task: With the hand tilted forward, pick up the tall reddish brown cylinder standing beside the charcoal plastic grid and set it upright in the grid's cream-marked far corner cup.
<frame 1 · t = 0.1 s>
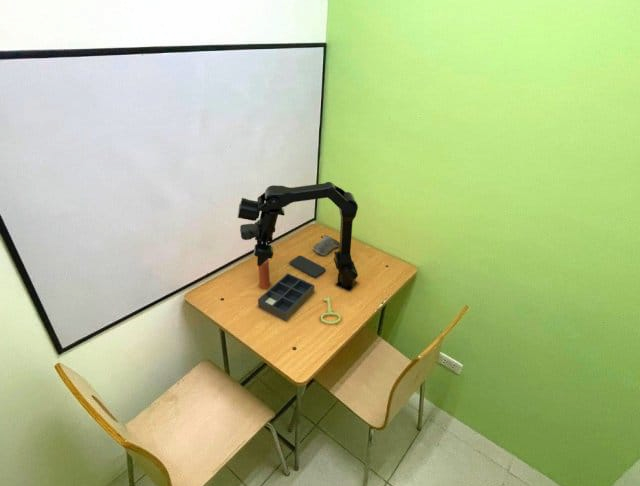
hand: (258, 257, 136), 15 cm above the table, tool pointing down, fingers open, 9 cm apart
stone: (324, 249, 169), on the table
reddish brown cylinder: (264, 285, 148), on the table
key: (329, 313, 138), on the table
phone: (307, 267, 158), on the table
grid: (286, 299, 142), on the table
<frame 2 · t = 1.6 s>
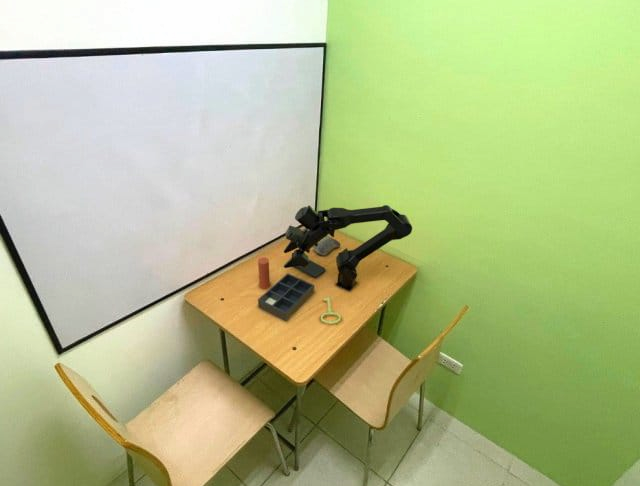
hand: (284, 259, 140), 13 cm above the table, tool tilted 45°, fingers open, 9 cm apart
nothing on the table moved.
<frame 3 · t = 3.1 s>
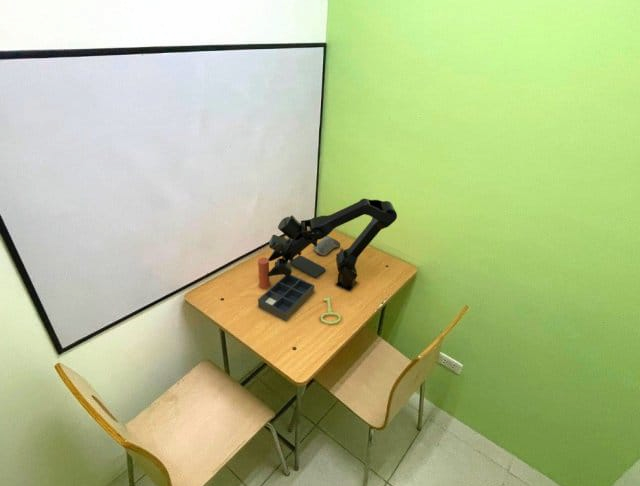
hand: (268, 267, 142), 9 cm above the table, tool tilted 45°, fingers open, 9 cm apart
nothing on the table moved.
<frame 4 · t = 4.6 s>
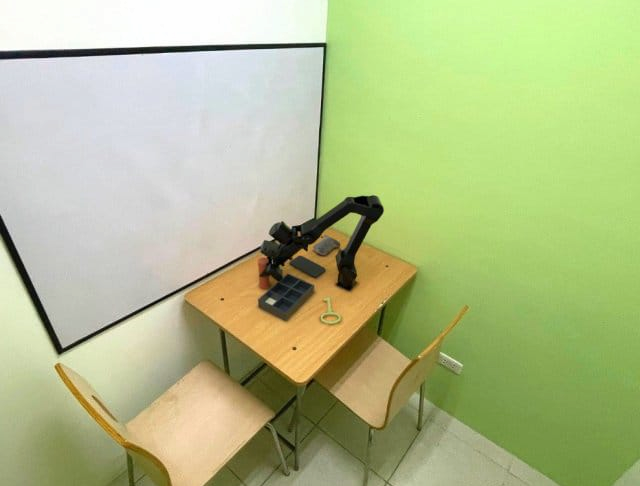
hand: (260, 272, 143), 7 cm above the table, tool tilted 45°, fingers closed on reddish brown cylinder, 4 cm apart
reddish brown cylinder: (264, 285, 148), on the table, touching gripper
everything else where it was.
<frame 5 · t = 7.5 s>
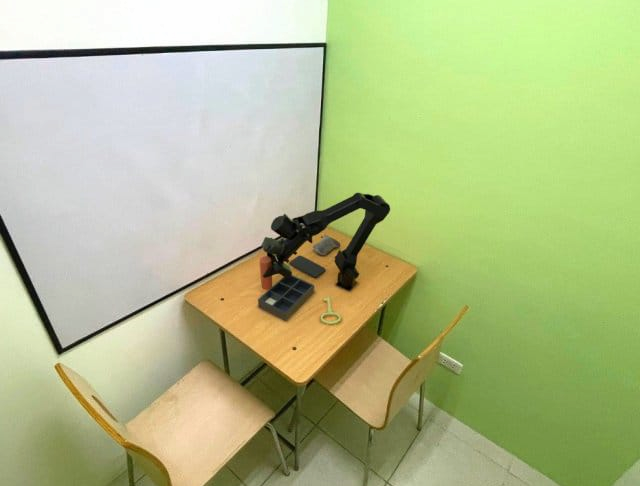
hand: (262, 273, 133), 13 cm above the table, tool tilted 45°, fingers closed on reddish brown cylinder, 4 cm apart
reddish brown cylinder: (266, 286, 138), point 6 cm above the table, touching gripper
everything else where it was.
when the fingers open (7 cm above the table, at t = 10.2 s): reddish brown cylinder stays where it is, resting on grid.
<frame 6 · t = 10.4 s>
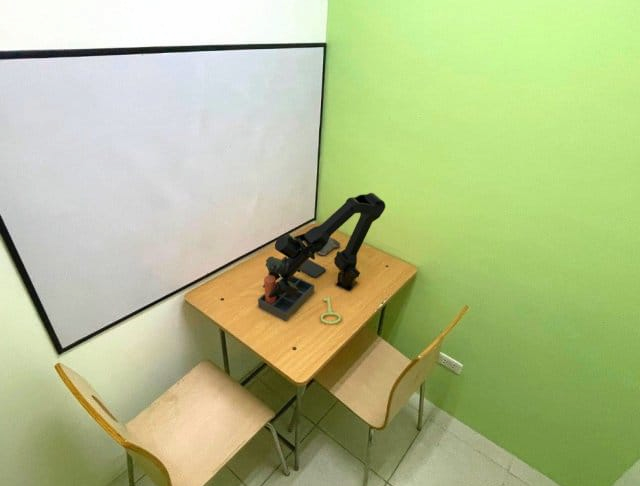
hand: (266, 292, 134), 7 cm above the table, tool tilted 45°, fingers open, 5 cm apart
reddish brown cylinder: (271, 304, 139), point 1 cm above the table, touching grid
everything else where it was.
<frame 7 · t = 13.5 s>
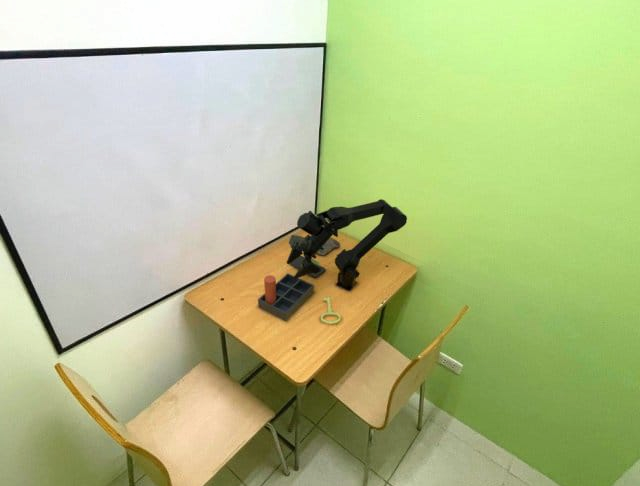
hand: (290, 270, 135), 13 cm above the table, tool tilted 40°, fingers open, 9 cm apart
nothing on the table moved.
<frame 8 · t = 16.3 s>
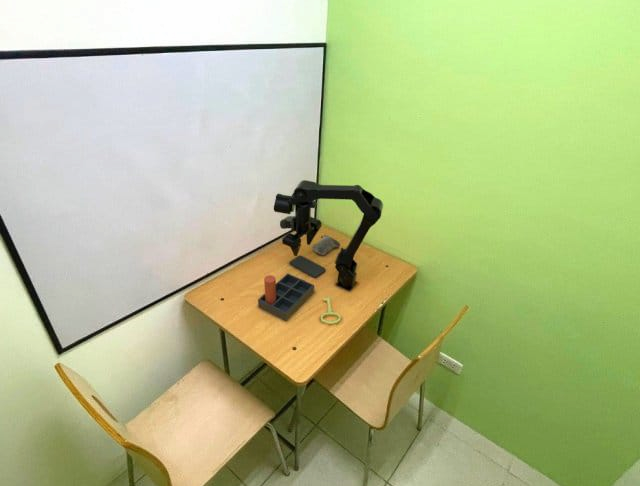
hand: (302, 250, 145), 13 cm above the table, tool pointing down, fingers open, 9 cm apart
nothing on the table moved.
at the end: reddish brown cylinder 0.0 cm from the target spot in the grid, point 0.7 cm above the grid's base; reddish brown cylinder tilted 0°; the gripper is holding nothing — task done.
